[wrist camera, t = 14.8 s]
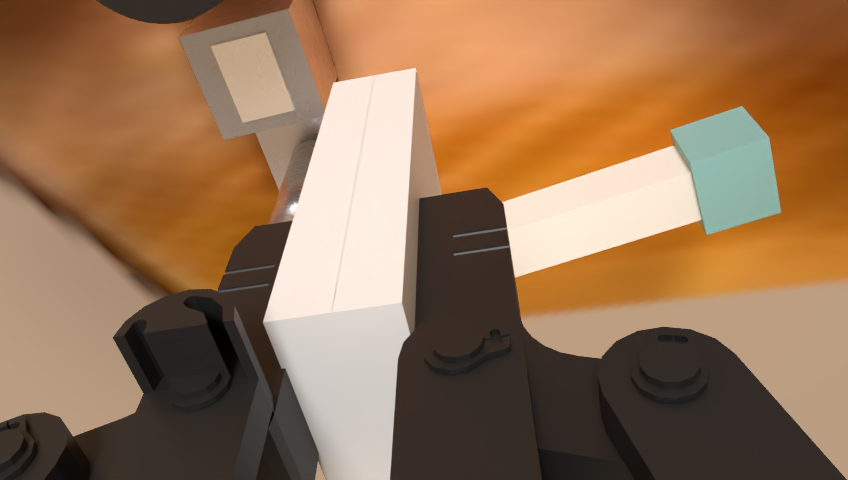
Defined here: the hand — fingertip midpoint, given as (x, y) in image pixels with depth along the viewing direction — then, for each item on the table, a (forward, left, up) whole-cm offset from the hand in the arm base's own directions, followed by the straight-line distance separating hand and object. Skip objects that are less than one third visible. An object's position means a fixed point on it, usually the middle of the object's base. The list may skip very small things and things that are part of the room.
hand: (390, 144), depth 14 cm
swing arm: (+13, 0, -17) cm, 21 cm away
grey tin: (+6, -10, -32) cm, 34 cm away
